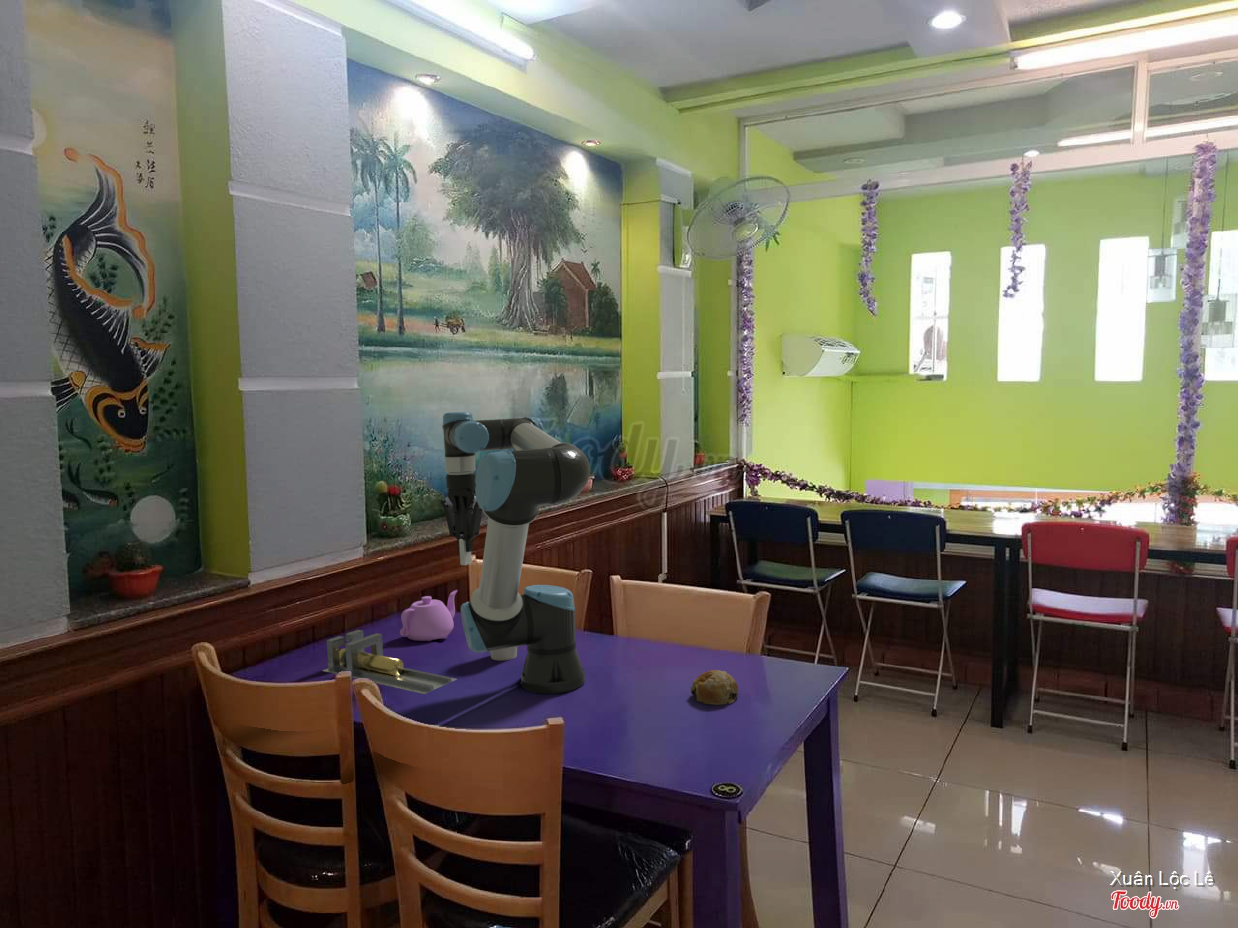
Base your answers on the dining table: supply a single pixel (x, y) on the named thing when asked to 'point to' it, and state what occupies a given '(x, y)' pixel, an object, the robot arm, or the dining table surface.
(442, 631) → the teapot
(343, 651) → the tube
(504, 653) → the coffee cup
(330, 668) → the collar base
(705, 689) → the bread roll
